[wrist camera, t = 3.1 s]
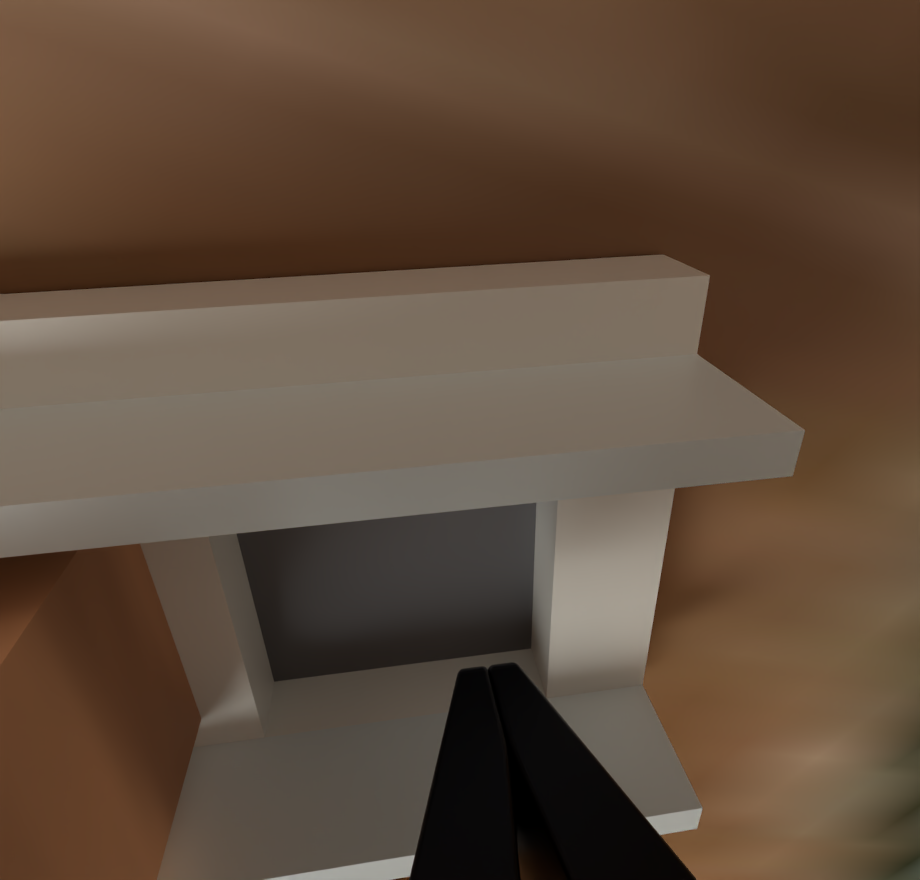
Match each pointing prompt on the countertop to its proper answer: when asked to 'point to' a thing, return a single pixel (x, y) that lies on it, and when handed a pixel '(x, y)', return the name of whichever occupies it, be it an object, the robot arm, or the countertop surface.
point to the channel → (379, 519)
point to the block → (88, 717)
